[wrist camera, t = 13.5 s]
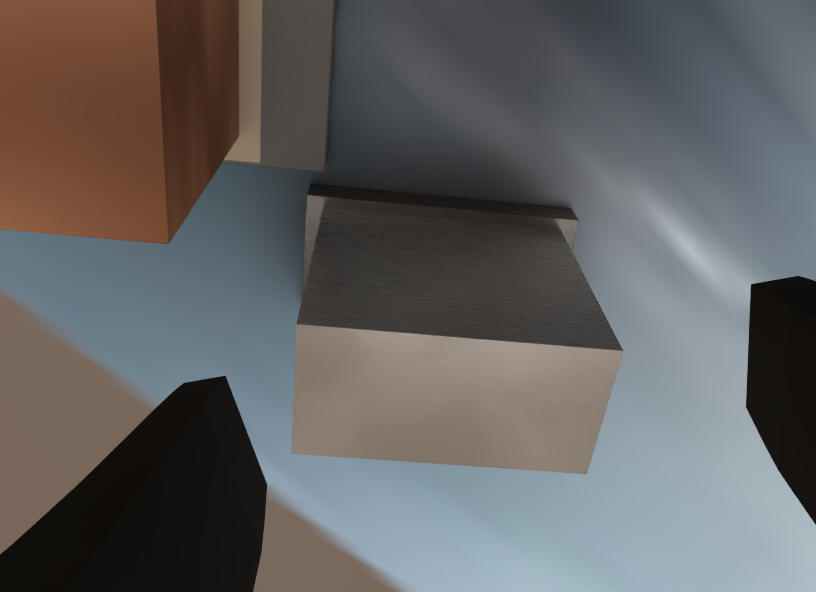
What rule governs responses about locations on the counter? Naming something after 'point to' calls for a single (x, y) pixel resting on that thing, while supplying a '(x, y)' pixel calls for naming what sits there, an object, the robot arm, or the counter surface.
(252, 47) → the pad
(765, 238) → the counter surface
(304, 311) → the block
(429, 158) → the counter surface
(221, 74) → the terracotta block
